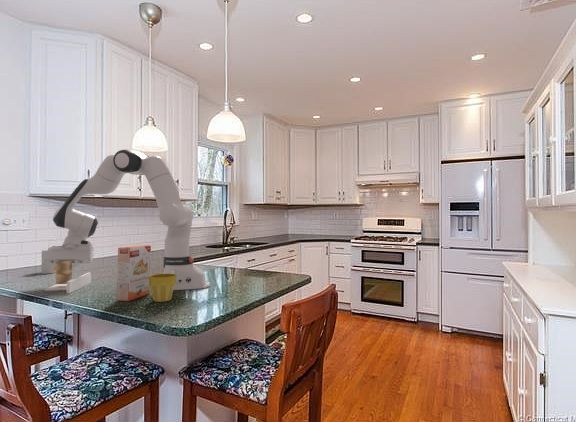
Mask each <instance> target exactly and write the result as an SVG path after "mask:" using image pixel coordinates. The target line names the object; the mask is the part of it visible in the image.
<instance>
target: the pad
mask: <svg viewBox="0 0 576 422" xmlns="http://www.w3.org/2000/svg"><path fill="white" fill-rule="evenodd" d="M43 291H44V292H47V291H48V292H50V291H55V292H56V291H67V284H56V283H55V284H54V285H52V286H49V287H46V288H44V289H43Z"/></svg>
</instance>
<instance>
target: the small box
mask: <svg viewBox="0 0 576 422" xmlns="http://www.w3.org/2000/svg"><path fill="white" fill-rule="evenodd" d="M47 250H48V249H43V250H41V272H40V273H41V274H54V273H55V274H56V270H54V266H55V265H54V264H46V263H45V262H44V260H43V257H44V255H45V253H46V252H47Z"/></svg>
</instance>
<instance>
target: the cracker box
mask: <svg viewBox="0 0 576 422" xmlns="http://www.w3.org/2000/svg"><path fill="white" fill-rule="evenodd" d="M151 251H152V246H151V245H147V244H143V245H142V244H141V245H140V244H139V245H129V246H123V247H118V248H117V270H116V271H117V275H116V301H119V302H130V301H133V300H135V299H138V298H139V299H140V298H141V297H145V296H147V295H149V294H150V293H151V286H150V285H149V276H150V275H151V256H152V255H151V253H152V252H151Z"/></svg>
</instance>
